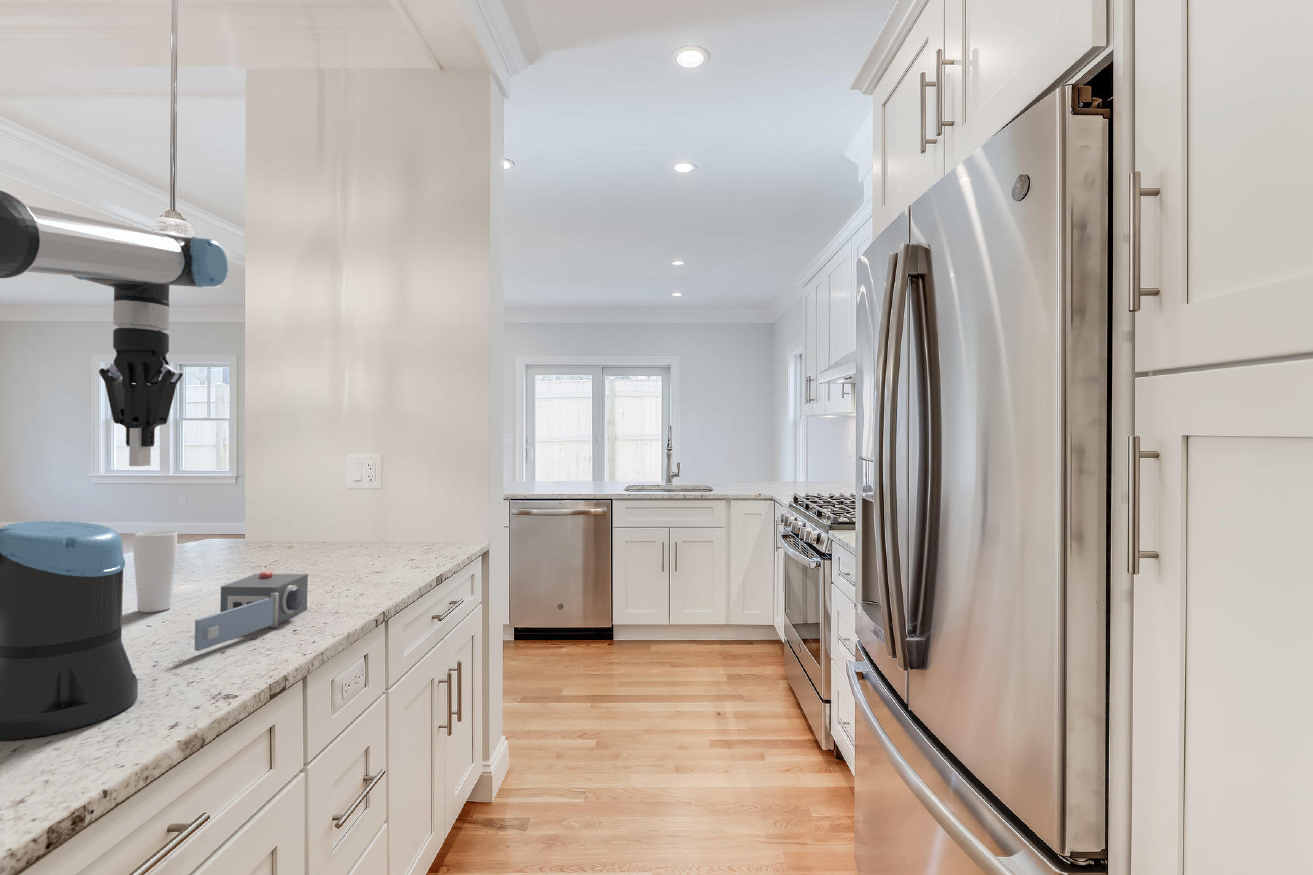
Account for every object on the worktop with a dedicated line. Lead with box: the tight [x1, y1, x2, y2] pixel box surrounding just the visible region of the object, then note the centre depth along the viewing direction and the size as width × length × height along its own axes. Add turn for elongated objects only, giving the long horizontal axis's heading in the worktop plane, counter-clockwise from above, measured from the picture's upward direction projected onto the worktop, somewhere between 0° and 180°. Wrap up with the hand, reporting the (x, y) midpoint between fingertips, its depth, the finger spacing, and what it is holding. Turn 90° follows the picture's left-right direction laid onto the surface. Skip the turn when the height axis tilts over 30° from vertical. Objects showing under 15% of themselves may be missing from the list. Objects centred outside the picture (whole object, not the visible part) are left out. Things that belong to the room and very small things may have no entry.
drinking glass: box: [132, 530, 179, 614], centre depth 125 cm, size 7×7×15 cm
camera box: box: [219, 571, 309, 626], centre depth 121 cm, size 11×12×8 cm
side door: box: [194, 593, 279, 652], centre depth 108 cm, size 2×16×6 cm, turn 168°
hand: (139, 465), depth 111 cm, fingers closed
